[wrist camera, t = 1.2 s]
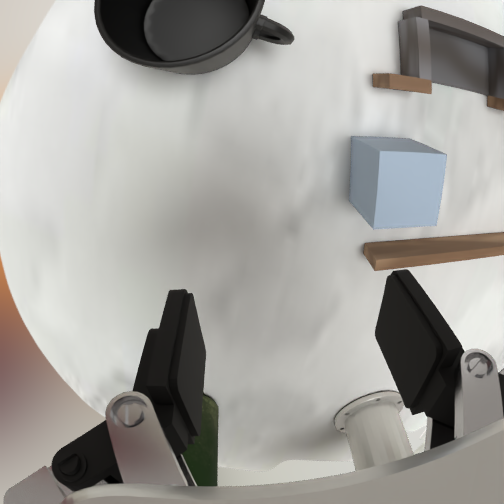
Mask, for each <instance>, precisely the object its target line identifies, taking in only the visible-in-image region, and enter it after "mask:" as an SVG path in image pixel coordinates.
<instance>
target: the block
mask: <svg viewBox="0 0 504 504" xmlns="http://www.w3.org/2000/svg"><path fill="white" fill-rule="evenodd" d="M446 159H447V154H445V153H442V152H440V151H438V150H436V149H433V148H431V147H429V146H427V145H424V144H422V143H420V142H417V141H415V140H412V139H406V138H389V137H361V136H351V173H350V194H349V201H350V203H351V204H352V205H353V206H354V207H355V208H356V209H357V211H358V212H359V213H360V214H361V215H362V216H363V218H364V219H365V220H366V221H367V222H368V224H369V225H370V226H371V227H372V228H373V229H388V228H404V227H421V226H436V225H437V220H438V214H439V209H440V203H441V197H442V190H443V183H444V176H445V168H446Z"/></svg>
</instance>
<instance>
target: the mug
mask: <svg viewBox="0 0 504 504" xmlns="http://www.w3.org/2000/svg"><path fill="white" fill-rule="evenodd" d="M264 2H265V0H95V6H94V13H95V20H96V25H97V27H98V30H99V32H100V35H101V36H102V38H103V40H104V41H105V43H106V44H107V45H108V46H109V47H110V48H111V49H112V50H113V51H114V52H115V53H117V54H118V55H120V56H121V57H122V58H124V59H126V60H128V61H130V62H133V63H136V64H139V65H142V66H146V67H151V68H156V69H161V70H166V71H170V72H175V73H180V74H202V73H207V72H211V71H214V70H217V69H219V68H222V67H223V66H225V65H227V64H229V63H230V62H232V61H233V60H235V59H236V58H237V57H238V56H239V55H240V54H241V53H242V52H243V51H244V50H245V49H246V48H247V46H248V45H249V43H250V41H251V40H252V38H254V39H261V40H264V41H267V42H271V43H275V44H281V45H289V44H291V43H292V42H293V41H294V36H293V34H292V32H291V31H290V30H289V29H288V28H286V27H285V26H283V25H281V24H279V23H277V22H275V21H273V20H271V19H268V18H267V17H266V16H263V15H260V14H261V11H262V8H263V5H264Z"/></svg>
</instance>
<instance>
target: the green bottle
mask: <svg viewBox="0 0 504 504" xmlns="http://www.w3.org/2000/svg"><path fill="white" fill-rule="evenodd" d="M182 456H183V458H184V460H185V462H186V464H187V466H188V468H189V470H190V472H191V475H192V477H193V479H194V481H195V483H196V485H197V486H202V487H214V486H217V463H218V407H217V405H216V403H215V402H214V401H213V400H212V399H211V398H209V397H207V396H205V395H203V402H202V418H201V433H200V436H195V443H194V444H188V447H187V450H186V451H185V452H183V453H182Z"/></svg>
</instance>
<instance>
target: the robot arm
mask: <svg viewBox="0 0 504 504" xmlns="http://www.w3.org/2000/svg"><path fill="white" fill-rule="evenodd" d="M375 337H376V340H377V342H378V344H379V346H380V349H381V351H382V353H383V355H384V358H385V360H386V362H387V365H388V367H389V369H390V371H391V374H392V376H393V379H394V381H395V383H396V386H397V388H398V390H399V393H400V394H399V393H397V392H391V391H386V392H379V393H374V394H371V395H368V396H365V397H362V398H360V399H358V400H356V401H354V402H352V403H350V404H349V405H347V406H346V407H344V408H343V409H342V410H341V411H340V412H339V413H338V414H337V416H336V418H335V426H336V428H337V430H339V431H340V432H343V433H347V437H348V441H349V445H350V449H351V453H352V457H353V461H354V465H355V470H356V471H354V472H349V473H345V474H340V475H334V476H328V477H323V478H316V479H310V480H303V481H295V482H288V483H278V484H266V485H251V486H220V487H219V486H214V487H202V486H197V485H196V483H195V481H194V479H193V477H192V475H191V472H190V470H189V468H188V466H187V464H186V462H185V460H184V458H183V456H182V453H183V452H185V451H186V450H187V447H188V444H194V443H195V436H200V433H201V418H202V402H203V388H204V374H205V361H206V350H205V345H204V341H203V336H202V332H201V328H200V324H199V319H198V315H197V310H196V306H195V301H194V297H193V294H192V293H187V290H186V289H181V290H170V291H169V293H168V297H167V300H166V304H165V308H164V311H163V315H162V319H161V323H160V327H159V329H150V330H149V332H148V335H147V338H146V342H145V345H144V349H143V353H142V356H141V360H140V364H139V368H138V372H137V375H136V379H135V383H134V387H133V391H129V392H124V393H121V394H119V395H117V396H116V397H114V398H113V399H112V400H111V401H110V403H109V404H108V405H107V408H106V412H105V415H106V420H105V421H104V422H102V423H101V424H99V425H97V426H96V427H94V428H93V429H91V430H90V431H88V432H87V433H85V434H84V435H82V436H80V437H79V438H77V439H76V440H74V441H72V442H71V443H69V444H68V445H66V446H64V447H63V448H61V449H60V450H59V451H58V452H57V453H56V454H55V456H54V457H53V461H52V465H51V466H50V467H46V466H44V467H42V468H41V469H39V470H38V471H36V472H35V473H33V474H32V475H30V476H28V477H27V478H25V479H24V480H22V481H21V482H19V483H17V484H16V485H14V486H13V487H11V488H10V489H9V490H8V491H7V492H6V493H5V496H4V504H504V375H503V374H501V373H498V370H497V365H496V362H495V360H494V359H493V357H492V356H491V355H490V354H488V353H487V352H485V351H483V350H480V349H470V350H467V351H466V352H464V350H463V348H462V345H461V343H460V342H459V340H458V339H457V337H456V336H455V334H454V333H453V331H452V330H451V328H450V327H449V325H448V324H447V322H446V321H445V319H444V318H443V316H442V315H441V314H440V312H439V311H438V309H437V308H436V306H435V305H434V304H433V302H432V301H431V299H430V298H429V297H428V295H427V294H426V293H425V291H424V290H423V288H422V287H421V286H420V284H419V283H418V282H417V280H416V279H415V278H414V276H413V275H412V274H411V273H410V271H409V270H397V271H393V272H392V273H391V275H389V276H388V277H387V280H386V285H385V290H384V295H383V299H382V304H381V308H380V312H379V317H378V321H377V325H376V329H375ZM404 405H405V407H406V408H410V410H411V413H412V415H415V414H418V413H421V412H425V414H426V416H427V429H426V440H425V449H424V452H422V453H418V454H415V455H414V454H413V451H412V448H411V445H410V443H409V439H408V437H407V434H406V431H405V428H404V426H403V423H402V420H401V417H400V415H399V412H400V411H401V410H402V408H403V406H404Z"/></svg>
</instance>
